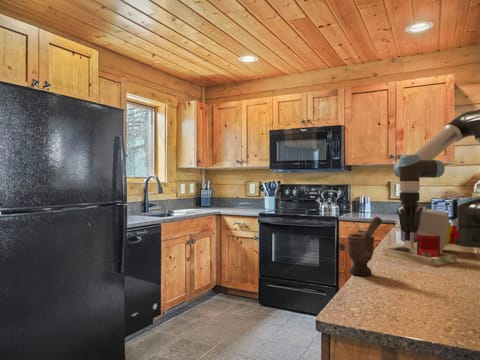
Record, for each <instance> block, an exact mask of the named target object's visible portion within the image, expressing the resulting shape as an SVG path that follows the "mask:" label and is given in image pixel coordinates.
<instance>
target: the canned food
mask: <svg viewBox="0 0 480 360" xmlns="http://www.w3.org/2000/svg"><path fill="white" fill-rule="evenodd" d="M416 248H417V254H416V255H419V256H424V257H429V258H431V257H438V256H440V233H437V232H428V231H420V232H417V240H416Z"/></svg>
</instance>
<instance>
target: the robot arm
mask: <svg viewBox="0 0 480 360" xmlns="http://www.w3.org/2000/svg"><path fill="white" fill-rule="evenodd" d="M472 136H473V137H474V140H475V141H476V142H478V144H479V145H480V108H479V109H475V110H469V111H466V112H464V113H462V114H460V115H458V116H456V117H454V119H452V120H451V121H449V122H448V123H447V124H446V125H444V126H443V128H442V131H440V132H439V133H438V134H437V135H435V136H434V137H433V138H432V139H431V140H428V142H426V143H425V144H424V145H423V146H422V147H421V148H419V149H418V150H416V151H415V152H414V153H412V154H401V155H400V156H399V162H396V163H395V164H394V165H393V169H392V170H393V173H394V175H395V177H397V178H399V191H400V192H399V201H400V202H401V204H400V207H401V208H400V207H399V208H396V213H397V214H398V220H399V226H400V227H401V229H400V232H401V231H403V232H405V240H406V241H405V246H406V248H409V249H414V247H415V243H414V242H415V240H414V233H416V232H417V231H418V226H419V220H420V214H421V211H422V208H419V207H420V206H419V203H418V202H419V201H420V192H419V191H420V190H421V188H420V187H421V186H420V179H422V178H423V179H424V178H433V179H435V178H440V177H442V176H443V175H444V173H445V170H446V169H445V168H446V167H445V164H444V163H443V161H441V160H439V159H438V160H437V159H436V158H437V157H439V156H440V154H441V153H444V152H445V151H446V149H448V148H449V147H451V146H452V145H453V144H454V143H457V142H460V141H462V140H463V139H464V138H468V137H472ZM456 207H457V208H456V211H457V213H456V215H457V216H456V217H457V218H456V219H457V231H456V232H458V233H459V238H456V237H455V243H454V245H458V246H459V245H460V246H464V247H473V248H474V247H476V248H480V196H478V197H477V196H476V197H475V196H472V197H462V198H459V199H458V200H457V206H456Z"/></svg>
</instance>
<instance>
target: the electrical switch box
mask: <svg viewBox="0 0 480 360" xmlns="http://www.w3.org/2000/svg"><path fill="white" fill-rule="evenodd" d="M423 207H424V209H423V212H422V218H421V224H420V230H419V232H420V231H428V232H437V233H440V252H442V253H443V251H444V250H445V247H446V246H448V243H449V244H450V245H455V237H456V238H459V233H458V232H456V231H457V228H458V225H455V224H453V225H451V224H452V223H451V222H450V219H449V214H448V213H449V212H447V211H443V210H437V209H432V208H427V209H426V207H427V206H423Z"/></svg>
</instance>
